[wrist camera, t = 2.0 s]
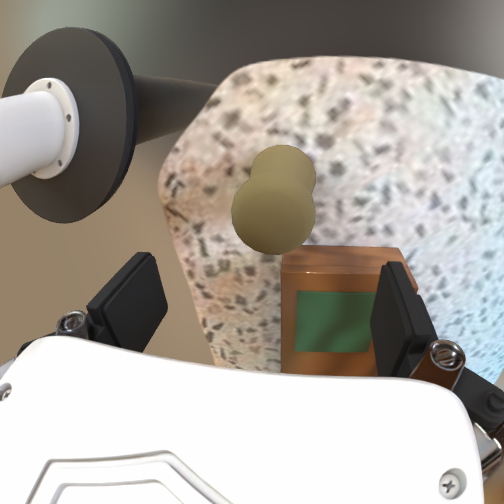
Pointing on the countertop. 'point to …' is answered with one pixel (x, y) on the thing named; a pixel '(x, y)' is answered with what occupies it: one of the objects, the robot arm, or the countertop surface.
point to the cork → (276, 201)
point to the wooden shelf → (331, 308)
